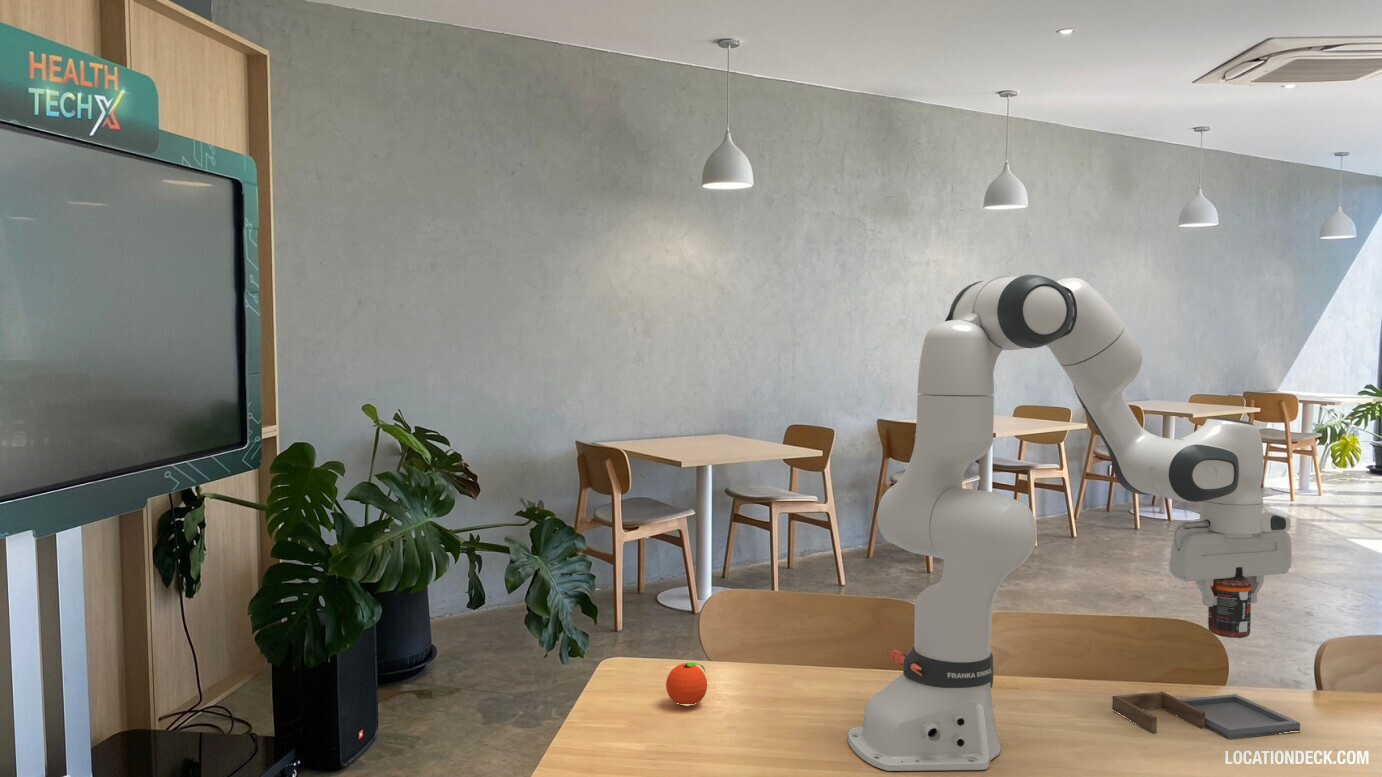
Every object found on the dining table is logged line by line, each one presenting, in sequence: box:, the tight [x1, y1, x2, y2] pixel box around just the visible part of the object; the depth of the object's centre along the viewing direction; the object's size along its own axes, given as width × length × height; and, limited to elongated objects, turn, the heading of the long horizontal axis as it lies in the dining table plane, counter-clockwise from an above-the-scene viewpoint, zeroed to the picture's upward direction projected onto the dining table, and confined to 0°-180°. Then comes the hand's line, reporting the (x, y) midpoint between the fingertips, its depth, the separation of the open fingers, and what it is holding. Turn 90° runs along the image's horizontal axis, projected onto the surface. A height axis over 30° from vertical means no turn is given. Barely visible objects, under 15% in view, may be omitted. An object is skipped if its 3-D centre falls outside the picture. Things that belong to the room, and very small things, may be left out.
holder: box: [1111, 691, 1206, 734], centre depth 155 cm, size 10×10×2 cm
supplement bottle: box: [1207, 567, 1252, 639], centre depth 154 cm, size 6×6×11 cm
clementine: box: [665, 662, 708, 705], centre depth 161 cm, size 8×7×7 cm
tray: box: [1178, 693, 1301, 740], centre depth 154 cm, size 13×13×2 cm
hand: (1229, 604), depth 154 cm, fingers closed on supplement bottle, 6 cm apart
